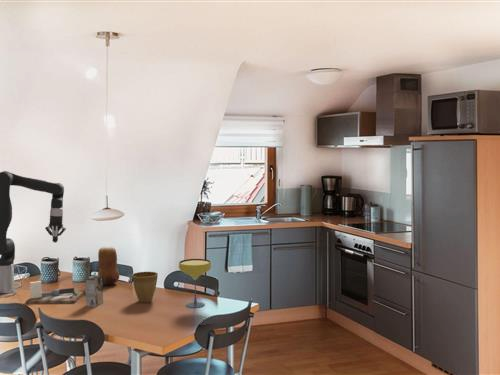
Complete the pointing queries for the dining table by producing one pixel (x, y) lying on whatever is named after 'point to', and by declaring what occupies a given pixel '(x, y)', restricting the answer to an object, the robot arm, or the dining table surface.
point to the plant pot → (145, 285)
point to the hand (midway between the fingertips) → (55, 242)
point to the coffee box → (94, 290)
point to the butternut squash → (108, 265)
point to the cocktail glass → (195, 274)
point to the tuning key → (37, 292)
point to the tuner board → (57, 298)
